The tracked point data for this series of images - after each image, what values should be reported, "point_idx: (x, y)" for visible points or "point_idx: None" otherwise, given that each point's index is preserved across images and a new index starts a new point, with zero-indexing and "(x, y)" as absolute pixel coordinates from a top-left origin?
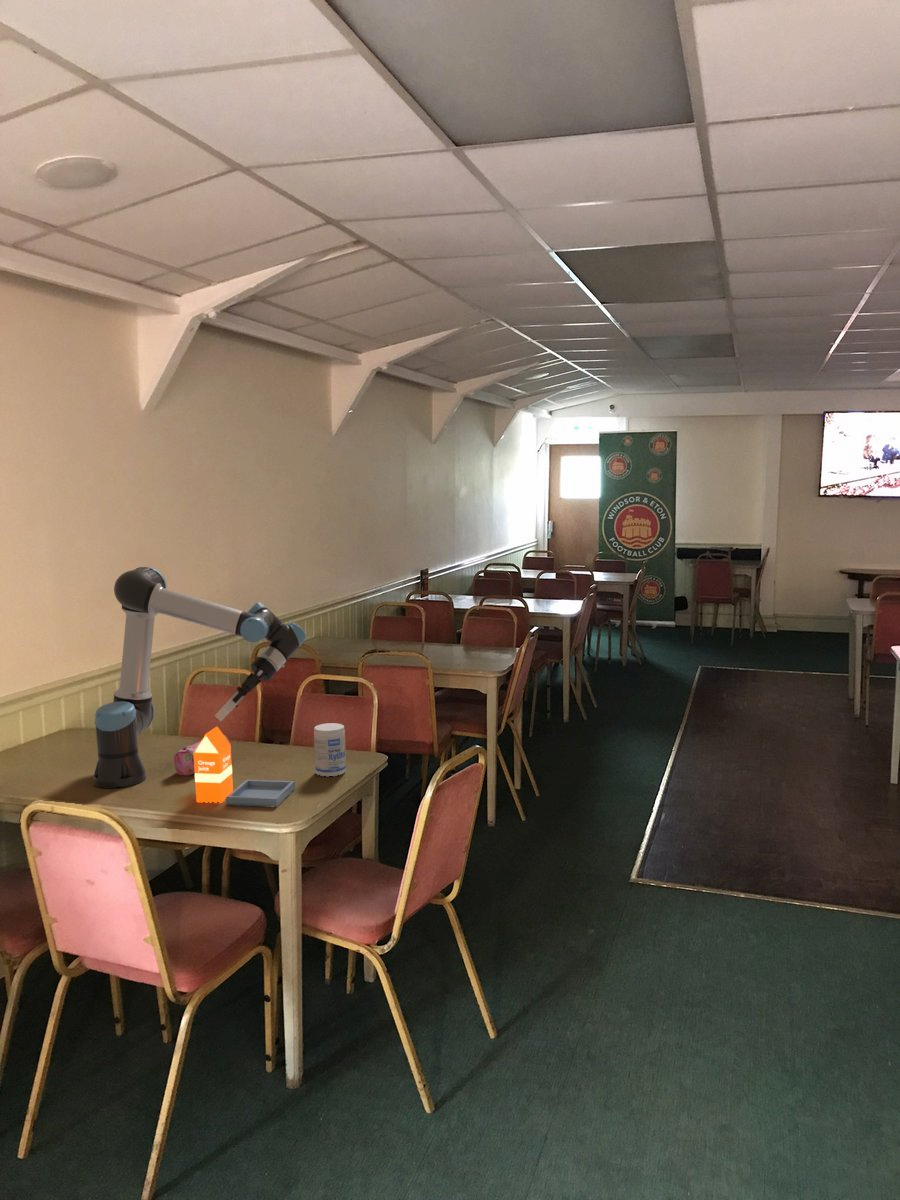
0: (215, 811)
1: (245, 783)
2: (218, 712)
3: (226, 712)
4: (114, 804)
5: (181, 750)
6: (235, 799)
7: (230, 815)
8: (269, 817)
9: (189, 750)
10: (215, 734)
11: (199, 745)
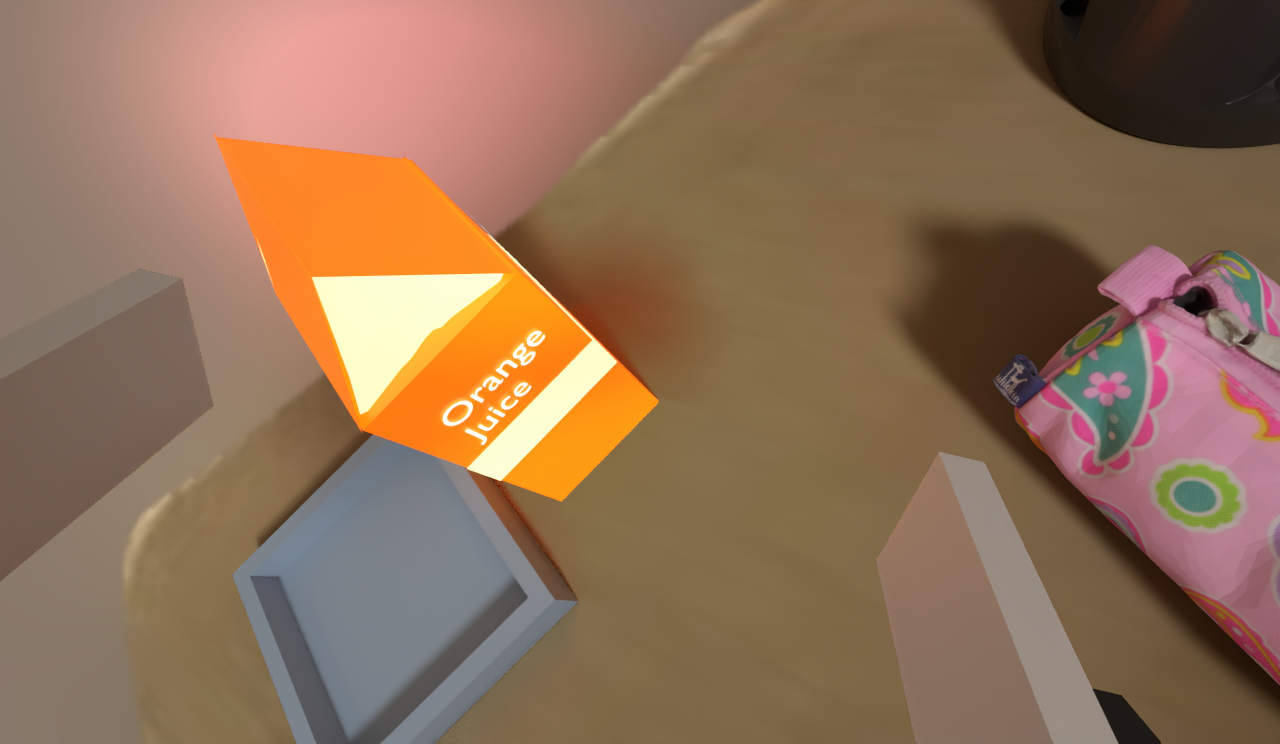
0: None
1: (505, 561)
2: (958, 524)
3: (927, 695)
4: (788, 14)
5: (1148, 266)
6: None
7: None
8: (228, 498)
9: (1123, 334)
10: (279, 252)
11: (338, 158)
